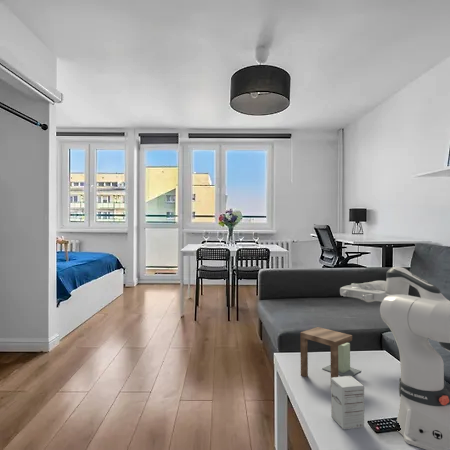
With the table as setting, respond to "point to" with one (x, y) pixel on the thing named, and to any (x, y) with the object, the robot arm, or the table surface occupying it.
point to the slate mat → (348, 373)
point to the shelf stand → (322, 337)
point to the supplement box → (347, 402)
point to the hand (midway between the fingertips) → (353, 295)
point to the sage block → (344, 357)
